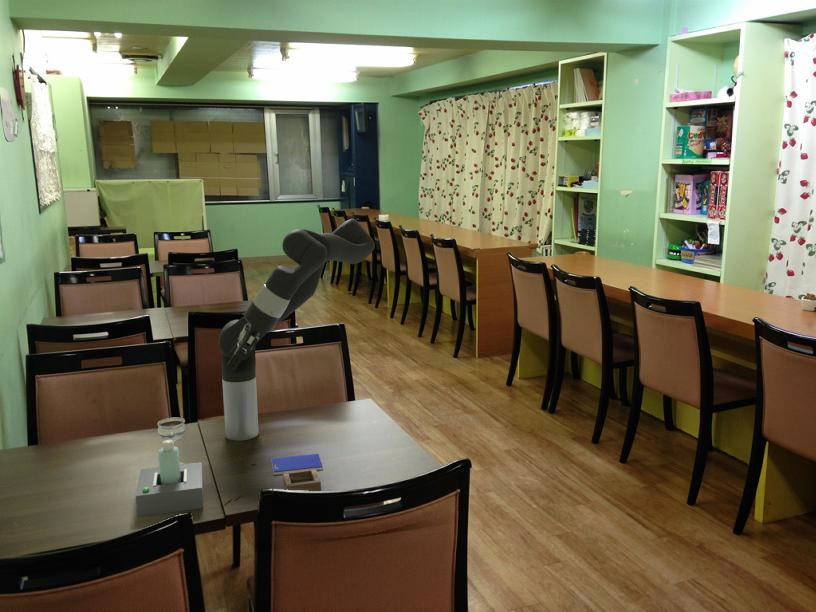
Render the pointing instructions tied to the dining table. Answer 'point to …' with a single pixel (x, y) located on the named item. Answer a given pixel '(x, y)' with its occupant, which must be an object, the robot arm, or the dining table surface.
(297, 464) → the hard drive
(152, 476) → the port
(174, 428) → the wineglass
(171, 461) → the mint green bottle
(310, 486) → the box
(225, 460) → the dining table surface
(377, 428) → the dining table surface
